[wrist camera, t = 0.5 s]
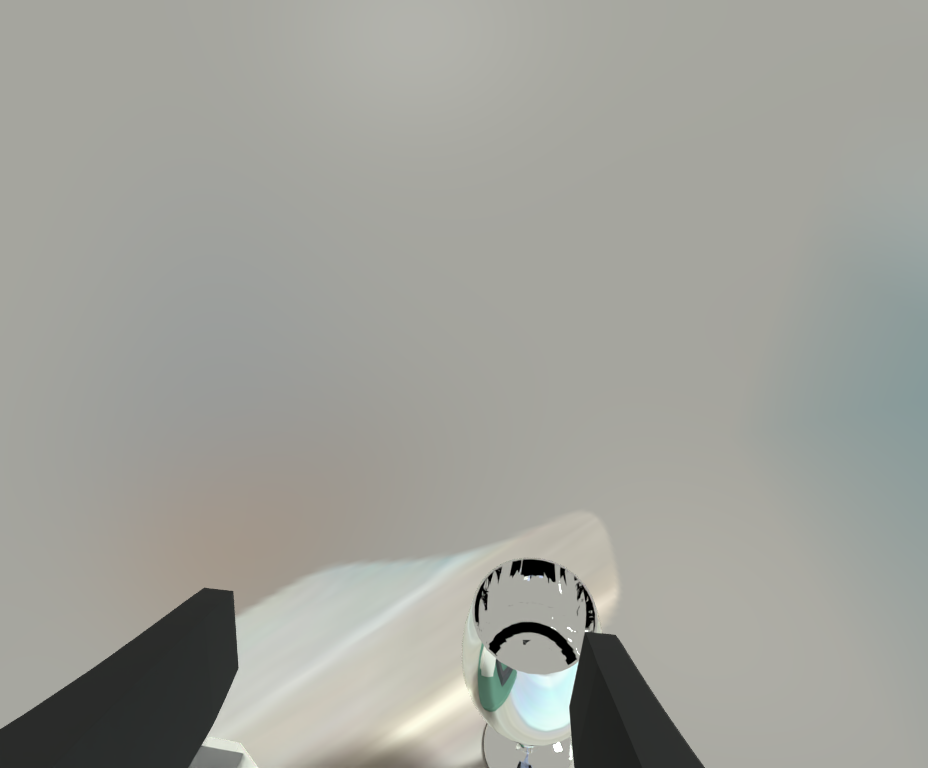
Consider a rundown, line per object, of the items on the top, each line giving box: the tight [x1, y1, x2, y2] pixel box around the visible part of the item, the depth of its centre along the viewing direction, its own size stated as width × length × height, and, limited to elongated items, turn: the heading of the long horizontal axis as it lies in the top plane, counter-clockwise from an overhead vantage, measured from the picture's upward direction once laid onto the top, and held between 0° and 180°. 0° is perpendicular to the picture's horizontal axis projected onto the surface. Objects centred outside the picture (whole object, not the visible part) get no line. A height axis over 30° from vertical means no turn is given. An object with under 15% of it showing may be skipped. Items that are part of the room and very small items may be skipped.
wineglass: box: [462, 558, 602, 768], centre depth 22 cm, size 6×6×12 cm
